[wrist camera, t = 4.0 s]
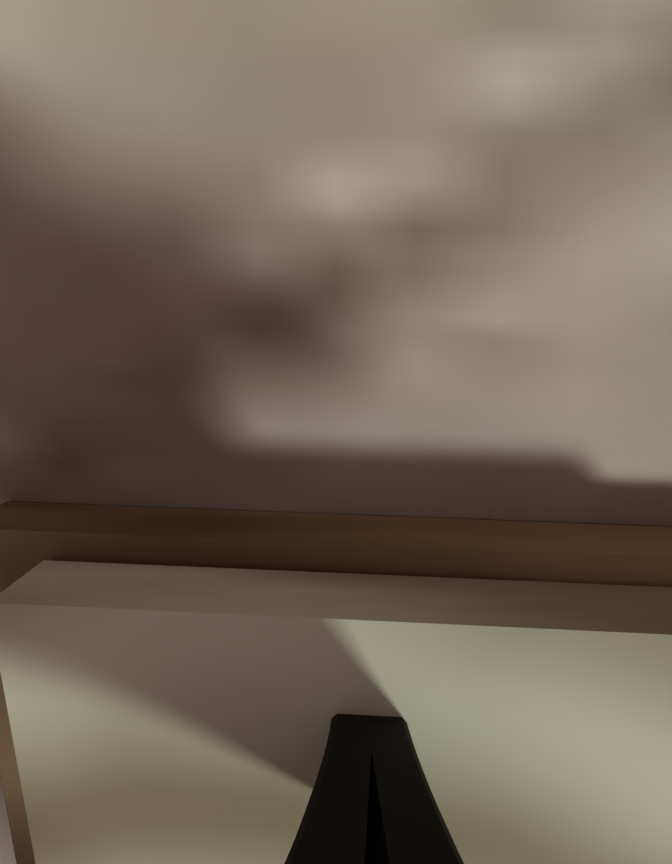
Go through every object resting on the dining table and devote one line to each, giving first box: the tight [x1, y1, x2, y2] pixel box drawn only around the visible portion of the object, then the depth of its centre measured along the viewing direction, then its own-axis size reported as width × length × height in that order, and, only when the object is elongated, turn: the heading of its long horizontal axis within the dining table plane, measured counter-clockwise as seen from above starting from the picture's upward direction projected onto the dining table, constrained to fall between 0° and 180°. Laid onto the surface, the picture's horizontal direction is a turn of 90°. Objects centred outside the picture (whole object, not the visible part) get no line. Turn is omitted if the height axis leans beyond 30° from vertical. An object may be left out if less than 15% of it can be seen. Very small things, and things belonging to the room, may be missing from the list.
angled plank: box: [0, 560, 672, 864], centre depth 10 cm, size 11×14×2 cm
